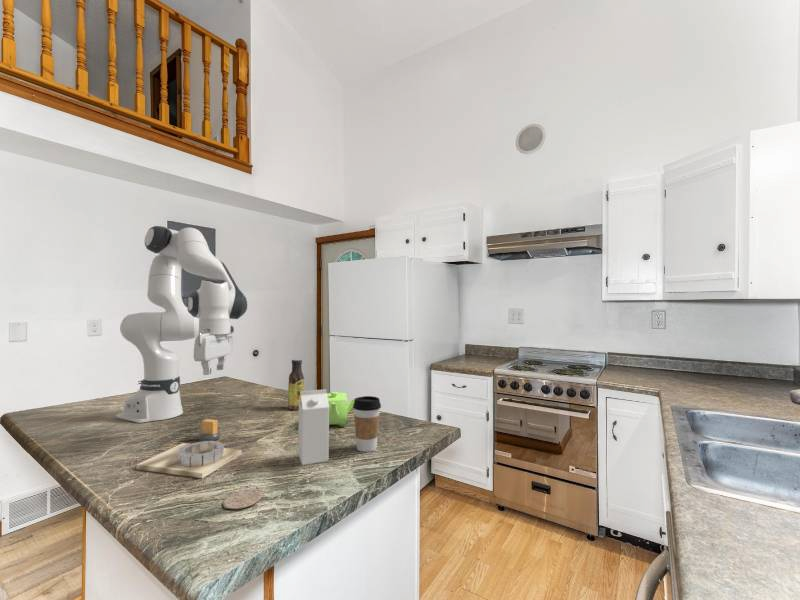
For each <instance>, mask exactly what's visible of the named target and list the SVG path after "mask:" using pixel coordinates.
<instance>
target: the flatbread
mask: <svg viewBox="0 0 800 600" xmlns="http://www.w3.org/2000/svg"><path fill="white" fill-rule="evenodd" d="M262 496H263V495H262V492H261V491H259V490H255V489H250V488H249V489H245V490H239V491H234V492H233V493H231V494H230V495H228V496H226V498H225V499H224V500H223V502H222V505H223V508H224V509H227V510H228V509H229V510H241V509H245V508H249V507H251V506H253V505H255V504H256V503H258V502H259V501H261V499H262Z"/></svg>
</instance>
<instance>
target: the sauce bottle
mask: <svg viewBox="0 0 800 600" xmlns="http://www.w3.org/2000/svg"><path fill="white" fill-rule="evenodd" d="M291 364H292V365H291V372H290V374H289V375H288V389H287V393H288V394H287V405H288V407H287V408H288V410H291V411H297V410H298V411H299V400H300V397H301V391H305V377H304V374H303V370H302V369H303V368H302V364H303V359H302V358H296V359H295V358H294V359H291Z"/></svg>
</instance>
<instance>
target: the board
mask: <svg viewBox="0 0 800 600" xmlns="http://www.w3.org/2000/svg"><path fill="white" fill-rule="evenodd" d="M189 444H190V443H184V442H182V443H180V444H178V445H176V446H174V447H171V448H169V449H168V450H165V451H162V452H160V453H158V454H156V455H154V456H152V457H150V458H148V459H145V460H143V461H142V462H139V463H137V464H136V470H139V471H146V472H147V471H148V472H155V473H162V474H168V475H169V474H170V475H175V476H183V477H189V478H190V477H191V478H196V479H197V478H198V479H204V478H205V477H206V476H208V475H210V474H211V473H214V472H215V471H217V470H219V469H220V468H221V467H223V466H224V465H227V464H228V463H229V462H231V461H234V460H235V459H236V458H238V457H239V456H241V455H242V449H236V448H228V447H227V448H226V447H224V454H223V457H222V458H221V459H219V460H218V461H216V462H214V463H211V464H207V465H204V466H203V465H202V466H197V467H185V466H180V465H179V464H178V463H177V452H178V451H179V449H181V448H182V447H184V446H186V445H189ZM205 453H206V452H205ZM198 454H202V453H198Z"/></svg>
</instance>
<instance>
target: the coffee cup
mask: <svg viewBox="0 0 800 600" xmlns="http://www.w3.org/2000/svg"><path fill="white" fill-rule="evenodd" d="M380 401H381V400H380V398H379V397H377V396H370V395H369V396H367V395H366V396H359V397H356V398H355V401H354V404H353V407H352V409H353V411H354V414H353V417H354V430H355V441H356V449H357V451H359V452H364V453H368V452H373V451H375V450H377V448H378V447H377V446H378V435H379V426H380V418H381V417H380V416H381V414H380V409H381V408H382V403H381V402H380Z"/></svg>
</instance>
